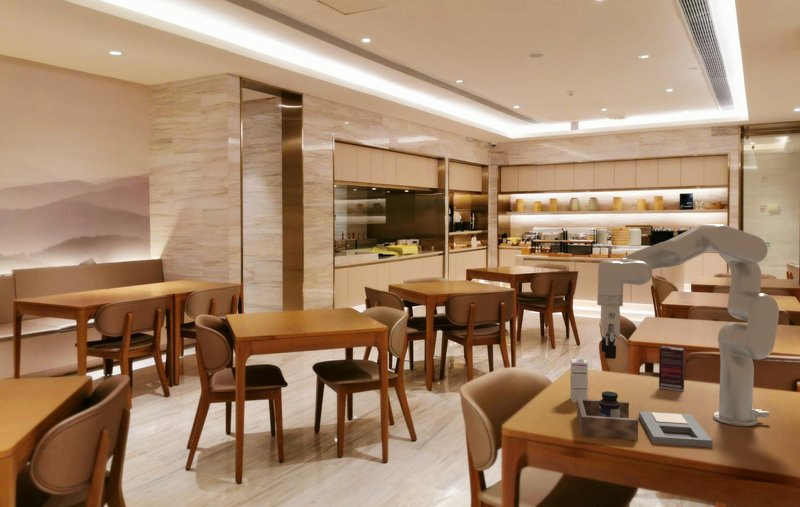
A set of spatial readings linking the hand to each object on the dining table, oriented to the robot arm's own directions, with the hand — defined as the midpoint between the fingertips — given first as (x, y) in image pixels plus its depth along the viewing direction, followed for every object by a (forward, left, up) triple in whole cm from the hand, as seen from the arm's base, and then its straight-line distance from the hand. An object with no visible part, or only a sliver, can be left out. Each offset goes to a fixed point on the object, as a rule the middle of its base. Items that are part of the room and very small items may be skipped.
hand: (608, 354), depth 193 cm
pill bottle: (-1, +1, -23) cm, 23 cm away
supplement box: (-30, -50, -23) cm, 62 cm away
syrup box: (+6, -27, -23) cm, 36 cm away
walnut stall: (0, +1, -23) cm, 23 cm away
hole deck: (-20, 0, -23) cm, 30 cm away
